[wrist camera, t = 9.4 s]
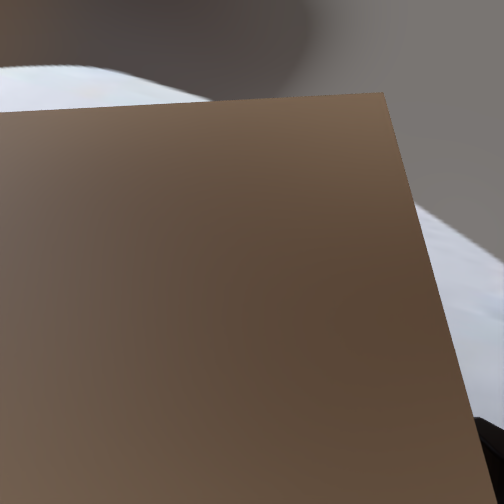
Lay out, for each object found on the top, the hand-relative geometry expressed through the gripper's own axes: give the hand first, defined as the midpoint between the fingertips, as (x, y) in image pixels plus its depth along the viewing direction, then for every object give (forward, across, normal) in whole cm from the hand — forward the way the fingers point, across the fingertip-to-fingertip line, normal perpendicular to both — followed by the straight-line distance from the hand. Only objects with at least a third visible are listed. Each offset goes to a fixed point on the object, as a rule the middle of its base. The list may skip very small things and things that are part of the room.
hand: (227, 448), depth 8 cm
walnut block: (+6, 0, +5) cm, 8 cm away
